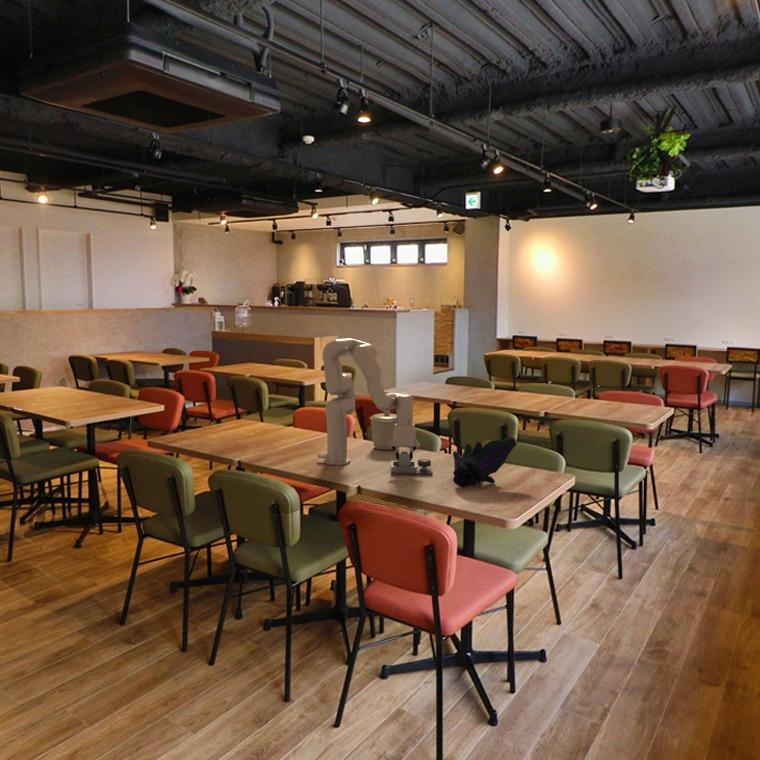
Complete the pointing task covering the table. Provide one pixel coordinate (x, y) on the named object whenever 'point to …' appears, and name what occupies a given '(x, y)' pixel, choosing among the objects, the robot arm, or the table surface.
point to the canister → (383, 429)
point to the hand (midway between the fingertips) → (404, 459)
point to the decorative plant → (481, 461)
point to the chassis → (410, 469)
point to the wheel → (424, 462)
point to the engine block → (404, 458)
